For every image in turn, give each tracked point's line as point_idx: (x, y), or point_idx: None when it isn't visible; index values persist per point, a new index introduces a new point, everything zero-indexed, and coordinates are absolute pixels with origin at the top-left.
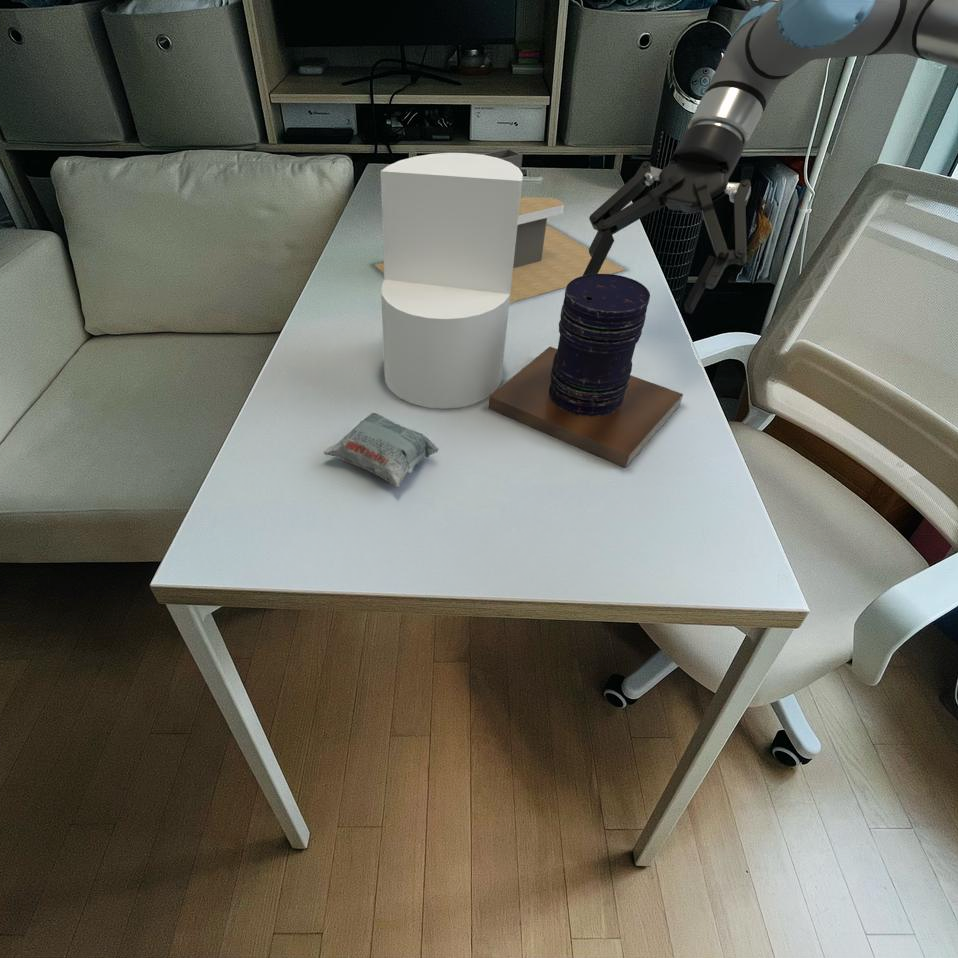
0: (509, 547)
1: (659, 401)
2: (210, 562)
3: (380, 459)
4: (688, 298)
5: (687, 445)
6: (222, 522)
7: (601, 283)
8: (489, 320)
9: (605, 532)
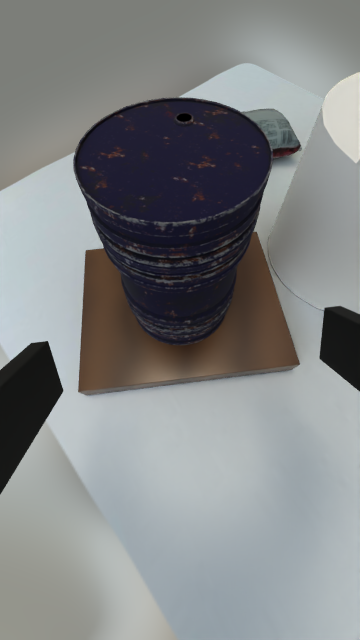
0: None
1: (98, 352)
2: (242, 73)
3: None
4: (34, 349)
5: (51, 330)
6: (268, 83)
7: (212, 174)
8: (314, 140)
9: (72, 200)
